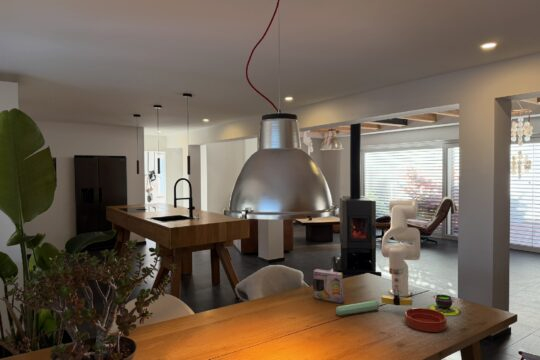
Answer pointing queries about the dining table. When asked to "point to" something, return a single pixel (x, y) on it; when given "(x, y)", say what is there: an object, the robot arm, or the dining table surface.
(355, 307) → the pale green faceted rod
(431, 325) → the bowl
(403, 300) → the banana
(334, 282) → the cake pan box
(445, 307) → the toy cauldron
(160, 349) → the dining table surface
